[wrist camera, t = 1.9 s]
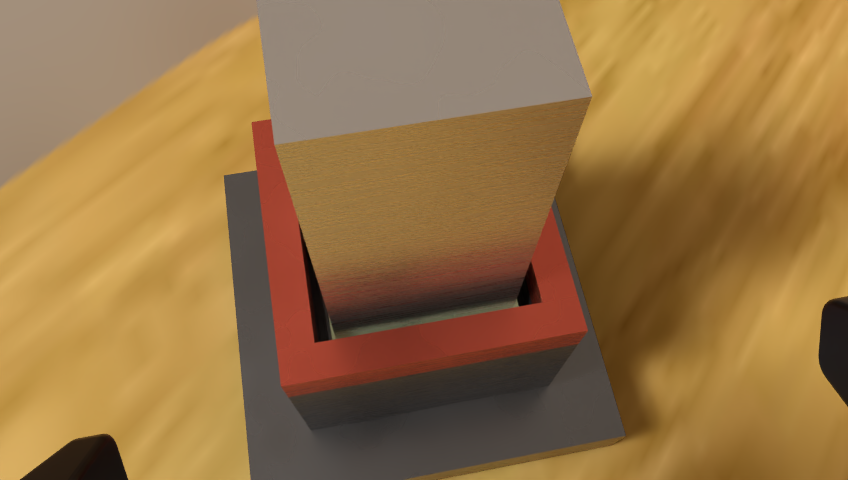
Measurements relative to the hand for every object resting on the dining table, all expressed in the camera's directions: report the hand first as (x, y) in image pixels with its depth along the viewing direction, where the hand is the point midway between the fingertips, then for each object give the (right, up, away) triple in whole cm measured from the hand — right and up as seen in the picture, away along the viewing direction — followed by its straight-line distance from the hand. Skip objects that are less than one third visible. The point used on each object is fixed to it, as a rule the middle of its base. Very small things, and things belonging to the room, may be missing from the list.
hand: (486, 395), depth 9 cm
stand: (-1, 0, +14) cm, 14 cm away
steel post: (-1, 0, +12) cm, 12 cm away
